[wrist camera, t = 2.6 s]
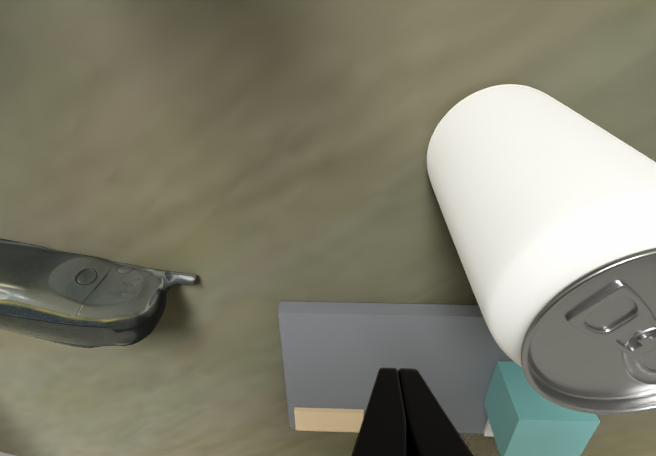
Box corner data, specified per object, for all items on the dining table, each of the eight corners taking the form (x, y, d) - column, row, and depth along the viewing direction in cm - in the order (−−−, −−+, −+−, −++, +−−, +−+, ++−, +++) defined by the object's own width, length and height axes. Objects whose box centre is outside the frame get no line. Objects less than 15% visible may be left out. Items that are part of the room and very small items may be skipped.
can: (487, 229, 22) (606, 451, 12) (396, 162, 20) (447, 358, 10) (593, 137, 19) (869, 328, 9) (498, 49, 17) (715, 165, 7)
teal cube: (567, 362, 26) (600, 421, 23) (547, 404, 28) (575, 464, 25) (497, 361, 26) (519, 419, 23) (483, 403, 28) (501, 461, 25)
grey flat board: (608, 307, 25) (621, 323, 24) (552, 423, 31) (559, 440, 30) (280, 301, 25) (277, 316, 24) (291, 415, 32) (289, 431, 31)
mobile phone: (-121, 321, 21) (168, 365, 22) (-150, 276, 19) (164, 325, 20) (-42, 262, 25) (199, 300, 26) (-60, 221, 24) (198, 263, 24)
